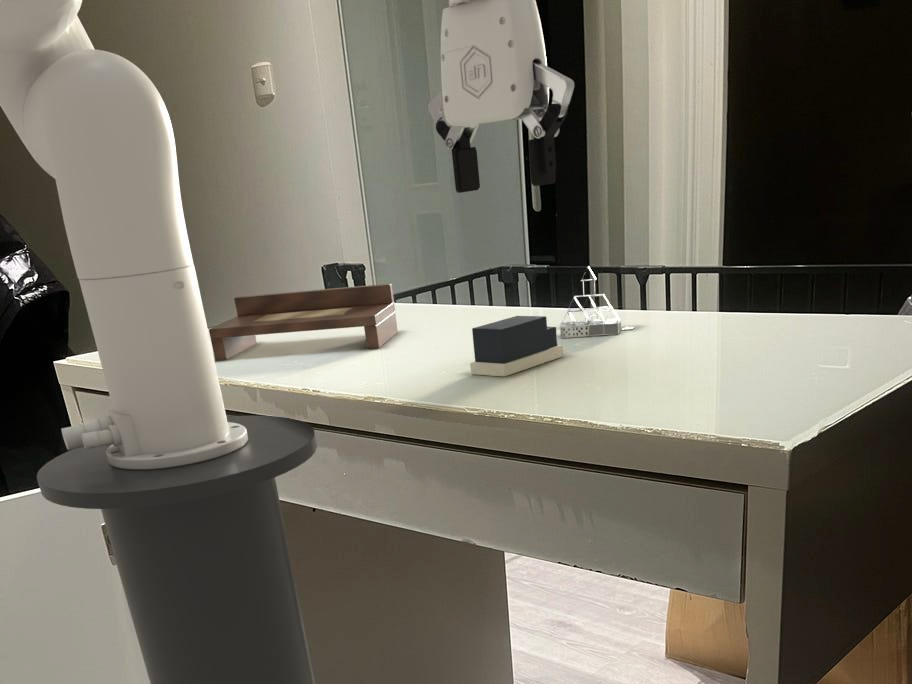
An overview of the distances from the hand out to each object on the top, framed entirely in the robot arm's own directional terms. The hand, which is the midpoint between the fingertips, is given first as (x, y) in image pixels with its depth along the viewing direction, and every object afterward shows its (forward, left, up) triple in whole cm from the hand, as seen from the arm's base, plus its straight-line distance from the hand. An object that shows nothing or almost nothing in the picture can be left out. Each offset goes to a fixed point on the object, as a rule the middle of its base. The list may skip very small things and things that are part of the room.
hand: (504, 188), depth 96 cm
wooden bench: (-10, +36, -17) cm, 41 cm away
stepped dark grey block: (0, -1, -17) cm, 17 cm away
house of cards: (+18, +9, -18) cm, 26 cm away
